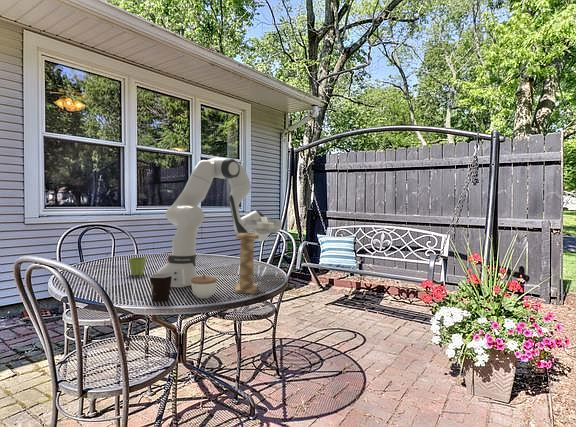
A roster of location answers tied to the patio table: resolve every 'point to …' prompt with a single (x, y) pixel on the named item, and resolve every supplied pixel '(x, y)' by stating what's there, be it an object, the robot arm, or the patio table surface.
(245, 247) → the stand
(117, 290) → the patio table surface
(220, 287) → the patio table surface
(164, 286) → the coffee mug
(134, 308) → the patio table surface
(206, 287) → the lidded jar
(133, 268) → the plant pot
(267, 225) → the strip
